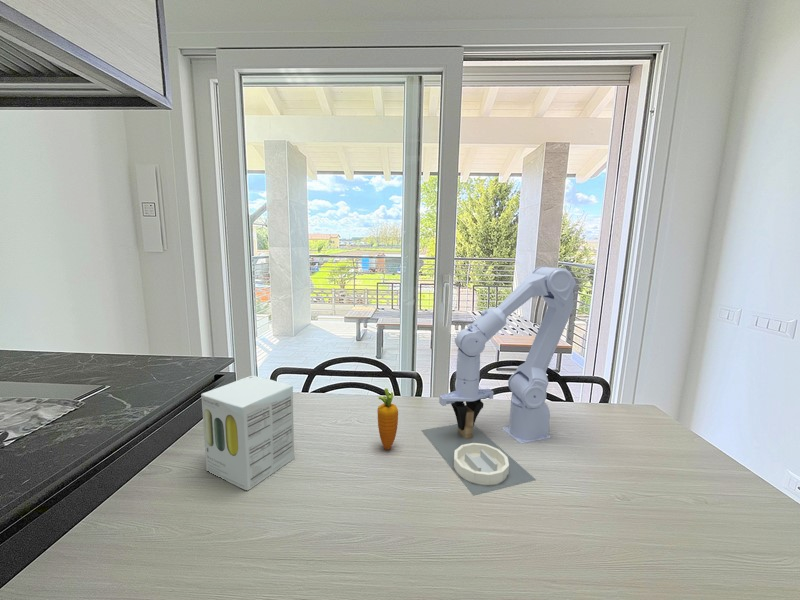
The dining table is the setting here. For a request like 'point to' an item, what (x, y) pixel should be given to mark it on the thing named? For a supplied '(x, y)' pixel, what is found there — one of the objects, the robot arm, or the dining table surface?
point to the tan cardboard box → (468, 425)
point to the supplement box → (248, 430)
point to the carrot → (387, 420)
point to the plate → (481, 464)
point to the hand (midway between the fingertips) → (465, 427)
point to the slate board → (451, 439)
